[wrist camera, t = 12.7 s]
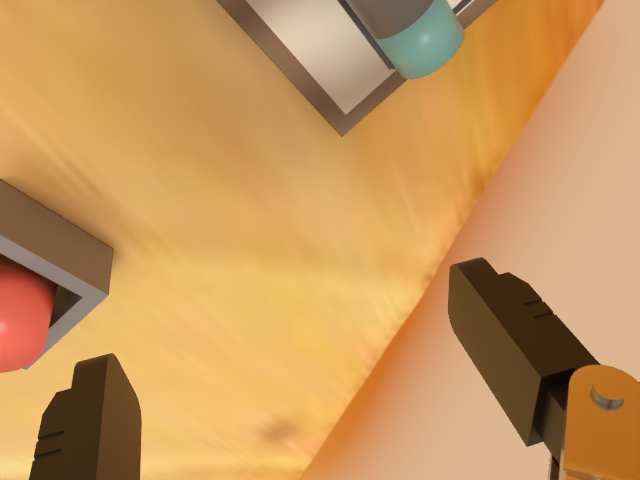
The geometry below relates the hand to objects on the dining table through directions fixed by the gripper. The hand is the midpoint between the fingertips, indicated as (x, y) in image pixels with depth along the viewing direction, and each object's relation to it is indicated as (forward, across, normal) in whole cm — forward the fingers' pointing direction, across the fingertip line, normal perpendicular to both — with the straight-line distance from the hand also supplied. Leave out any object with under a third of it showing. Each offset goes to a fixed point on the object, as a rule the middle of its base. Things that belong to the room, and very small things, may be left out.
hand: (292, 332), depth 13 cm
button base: (+19, +13, +8) cm, 24 cm away
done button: (+16, +13, +8) cm, 22 cm away
